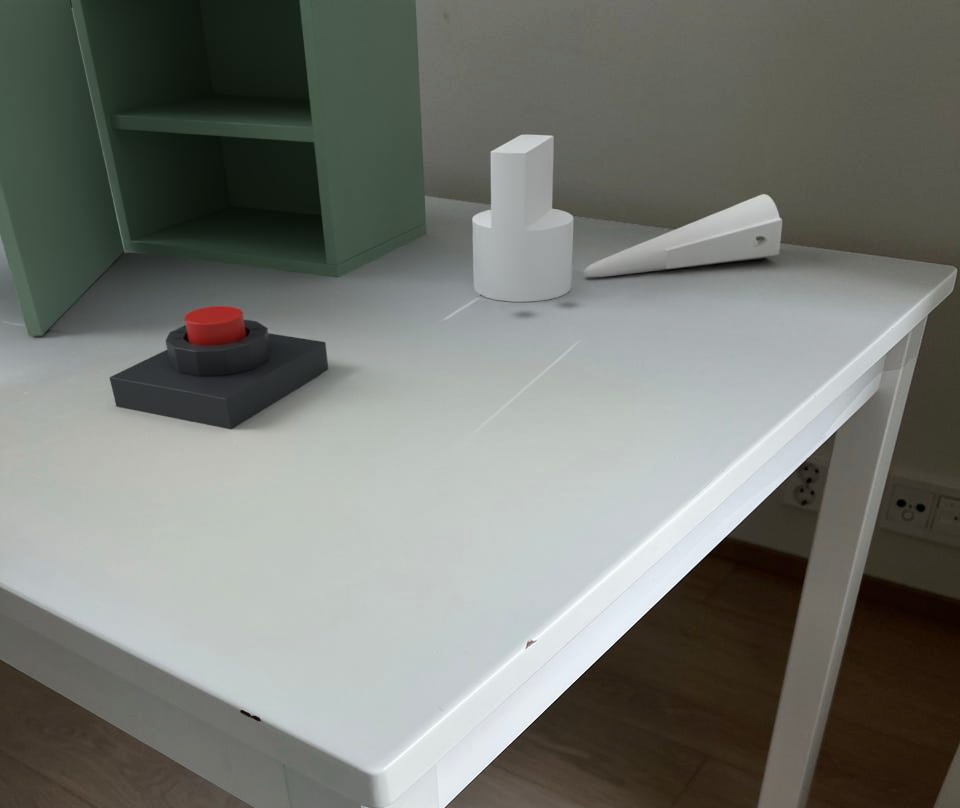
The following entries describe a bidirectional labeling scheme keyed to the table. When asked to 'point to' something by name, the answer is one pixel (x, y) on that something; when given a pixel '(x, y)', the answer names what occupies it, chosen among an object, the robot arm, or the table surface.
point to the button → (215, 325)
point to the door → (50, 164)
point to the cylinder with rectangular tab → (522, 227)
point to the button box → (220, 376)
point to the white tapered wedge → (703, 242)
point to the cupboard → (259, 127)
